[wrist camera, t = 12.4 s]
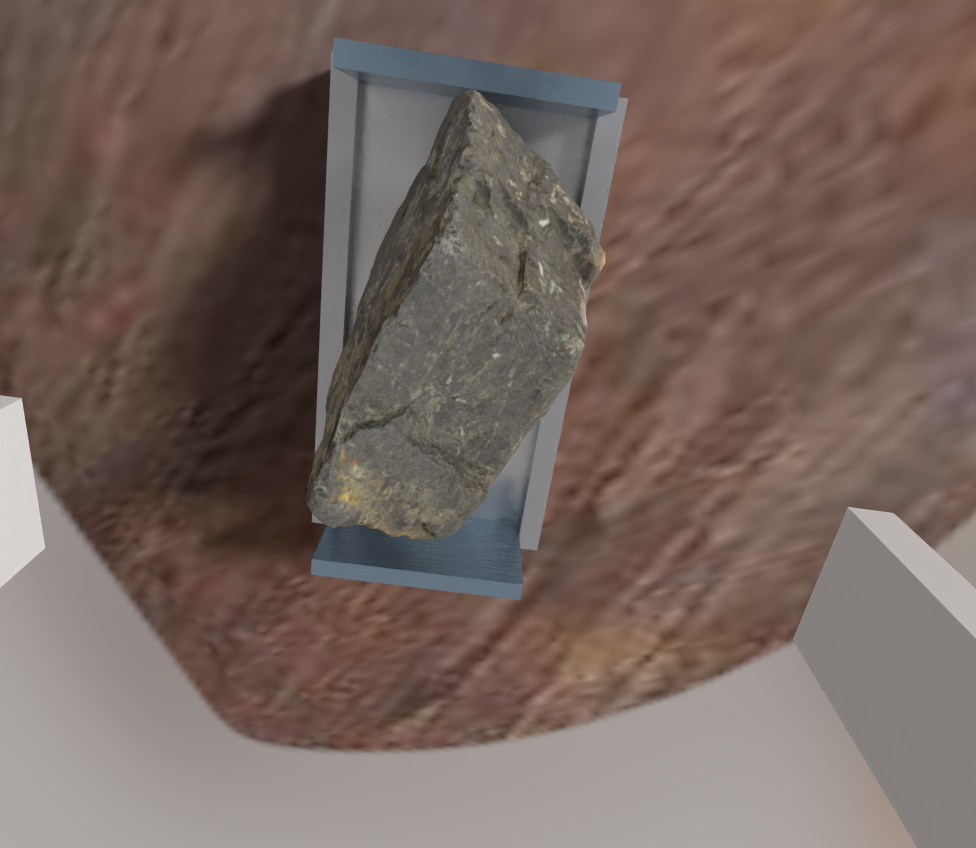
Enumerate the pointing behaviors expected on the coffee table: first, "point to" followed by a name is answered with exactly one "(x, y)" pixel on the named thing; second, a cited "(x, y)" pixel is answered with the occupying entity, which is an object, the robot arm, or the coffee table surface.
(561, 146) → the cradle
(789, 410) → the coffee table surface
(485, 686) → the coffee table surface
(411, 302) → the rock
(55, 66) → the coffee table surface
